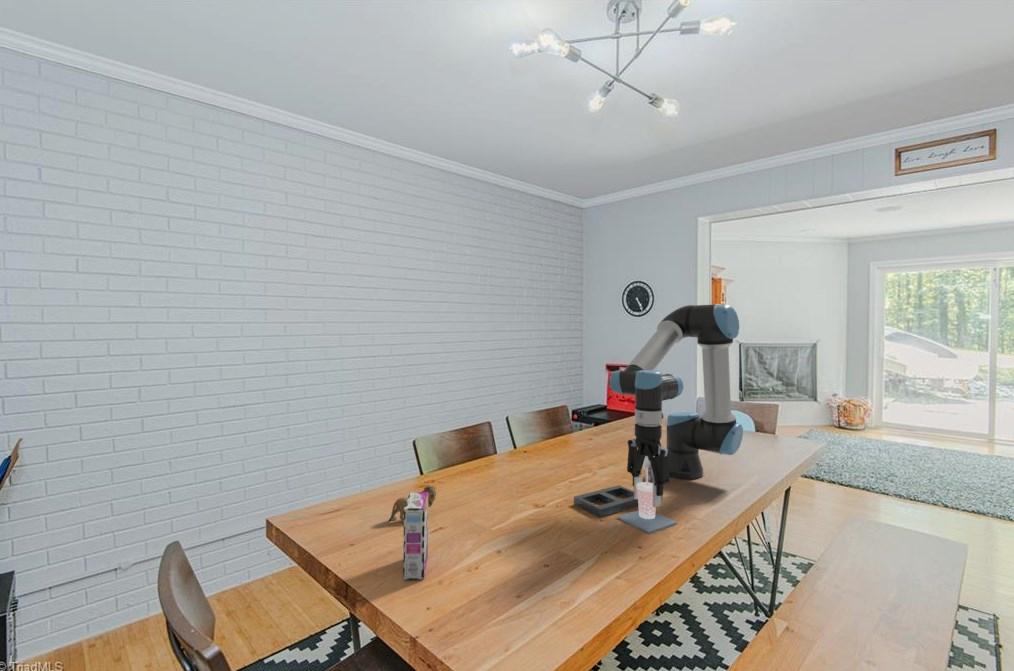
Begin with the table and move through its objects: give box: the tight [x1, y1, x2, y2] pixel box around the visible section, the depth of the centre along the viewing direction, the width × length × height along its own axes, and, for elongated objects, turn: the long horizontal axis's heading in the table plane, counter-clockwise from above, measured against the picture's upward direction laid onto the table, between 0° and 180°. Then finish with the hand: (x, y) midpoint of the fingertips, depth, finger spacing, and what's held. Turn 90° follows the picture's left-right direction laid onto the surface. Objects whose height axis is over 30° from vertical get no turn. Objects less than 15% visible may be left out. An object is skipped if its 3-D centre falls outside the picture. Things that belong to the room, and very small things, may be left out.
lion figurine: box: [387, 485, 437, 524], centre depth 140 cm, size 15×5×9 cm, turn 119°
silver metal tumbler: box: [642, 451, 664, 500], centre depth 158 cm, size 7×7×15 cm
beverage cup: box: [636, 468, 657, 519], centre depth 139 cm, size 6×6×14 cm
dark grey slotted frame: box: [573, 484, 639, 518], centre depth 152 cm, size 20×12×2 cm, turn 122°
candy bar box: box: [402, 491, 429, 581], centre depth 112 cm, size 11×5×16 cm, turn 5°
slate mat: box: [616, 509, 678, 535], centre depth 139 cm, size 12×12×1 cm
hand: (647, 501), depth 139 cm, fingers open, 6 cm apart
